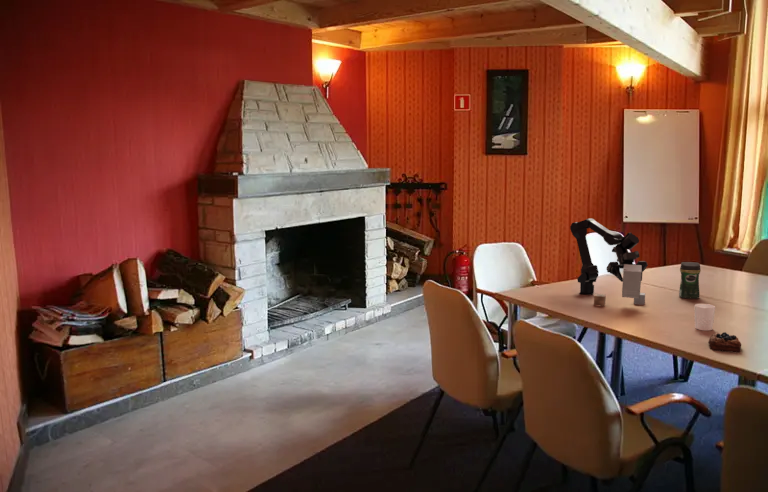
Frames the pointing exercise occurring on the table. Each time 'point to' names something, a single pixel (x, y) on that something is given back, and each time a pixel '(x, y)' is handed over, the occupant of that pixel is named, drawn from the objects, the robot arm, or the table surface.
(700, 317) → the white cup
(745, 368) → the table surface
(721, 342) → the pastry
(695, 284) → the coffee jar
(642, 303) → the slate-grey block
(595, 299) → the walnut block
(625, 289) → the skincare box
